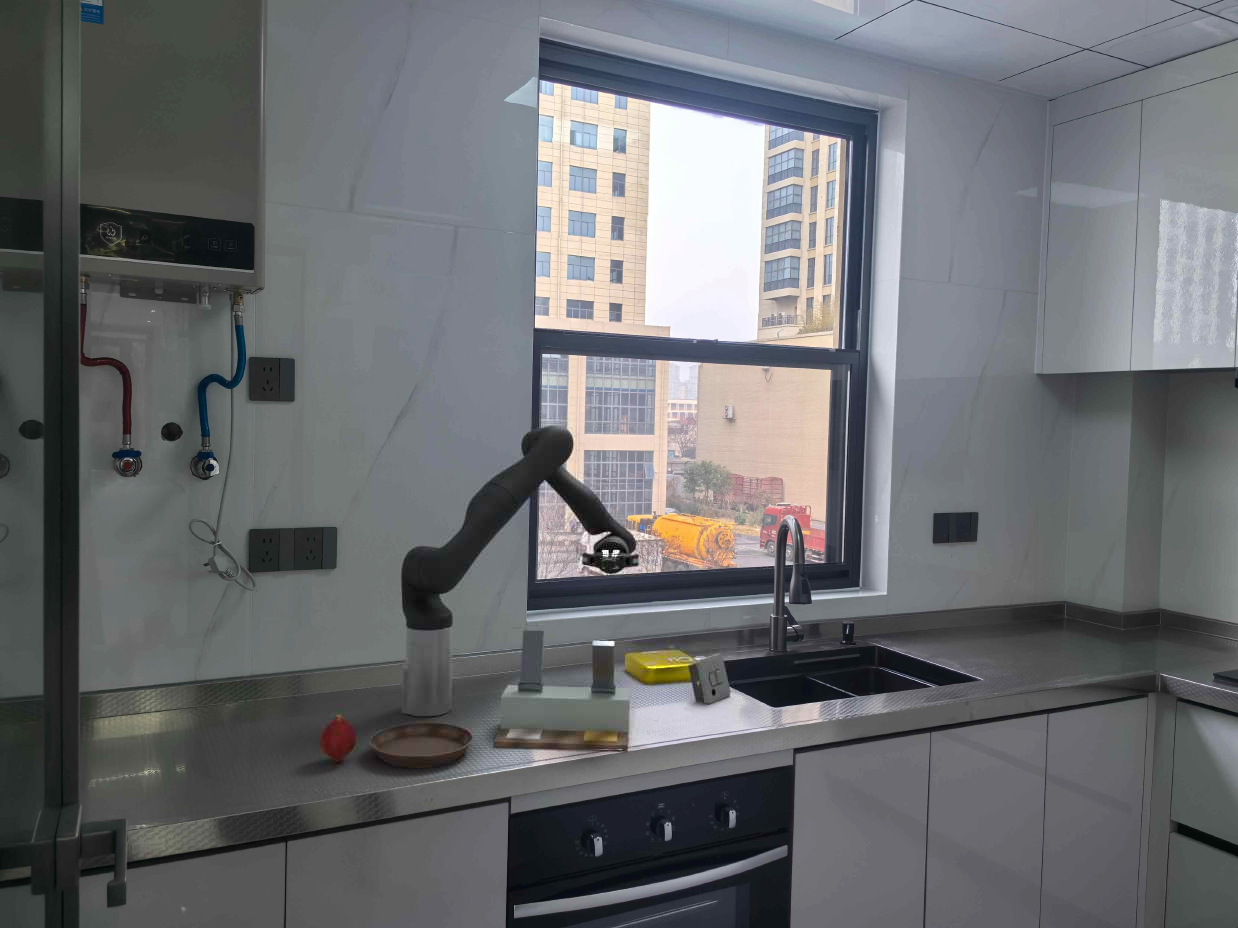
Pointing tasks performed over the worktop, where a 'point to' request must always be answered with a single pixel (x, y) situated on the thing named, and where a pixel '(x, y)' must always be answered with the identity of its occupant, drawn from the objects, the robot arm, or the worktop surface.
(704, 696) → the electrical switch
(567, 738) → the brown rectangular board
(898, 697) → the worktop surface
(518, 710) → the block
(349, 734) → the onion
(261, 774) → the worktop surface
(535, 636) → the left lever
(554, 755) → the worktop surface
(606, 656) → the right lever
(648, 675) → the element tile
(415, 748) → the plant saucer
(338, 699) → the worktop surface
